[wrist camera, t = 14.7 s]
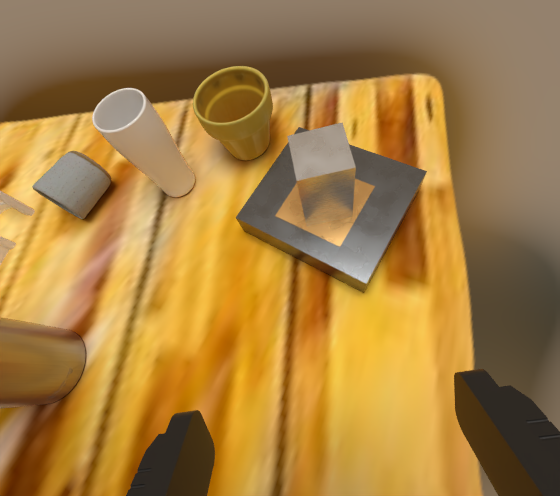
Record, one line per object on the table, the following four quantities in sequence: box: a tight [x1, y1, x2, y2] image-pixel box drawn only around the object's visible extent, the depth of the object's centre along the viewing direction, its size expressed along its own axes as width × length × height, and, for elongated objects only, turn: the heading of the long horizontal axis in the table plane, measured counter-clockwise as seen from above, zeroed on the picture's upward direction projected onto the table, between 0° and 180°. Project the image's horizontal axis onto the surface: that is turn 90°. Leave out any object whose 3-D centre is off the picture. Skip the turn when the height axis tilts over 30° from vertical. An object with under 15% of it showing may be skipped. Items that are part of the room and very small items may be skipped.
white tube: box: [93, 88, 195, 197], centre depth 42 cm, size 7×7×15 cm
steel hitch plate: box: [236, 127, 427, 293], centre depth 41 cm, size 18×16×4 cm
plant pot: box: [193, 66, 273, 160], centre depth 45 cm, size 10×10×10 cm
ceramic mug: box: [33, 151, 111, 219], centre depth 48 cm, size 11×8×8 cm
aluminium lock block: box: [288, 123, 356, 226], centre depth 34 cm, size 6×6×10 cm
